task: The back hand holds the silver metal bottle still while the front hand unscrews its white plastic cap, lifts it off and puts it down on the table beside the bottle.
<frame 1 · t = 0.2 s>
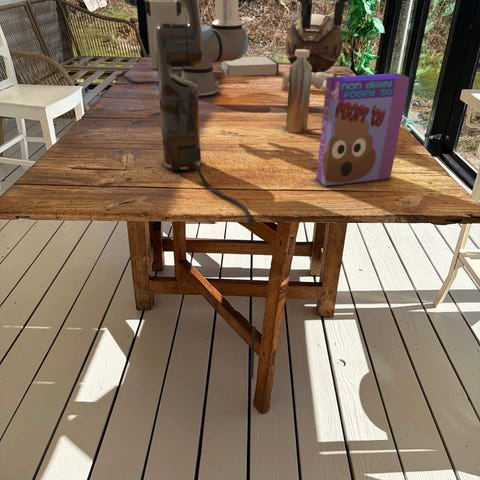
front hand: (163, 15, 145), 30 cm above the table, tool pointing down, fingers open, 8 cm apart
back hand: (321, 27, 144), 28 cm above the table, tool pointing down, fingers open, 13 cm apart
cap: (302, 51, 136), point 23 cm above the table, screwed on, not yet turned
disc drive: (249, 72, 218), on the table
bottle: (296, 129, 148), on the table
sphere: (311, 74, 216), on the table
tall grey upright box: (174, 66, 227), on the table
toy: (320, 91, 190), on the table
cereal box: (353, 179, 116), on the table
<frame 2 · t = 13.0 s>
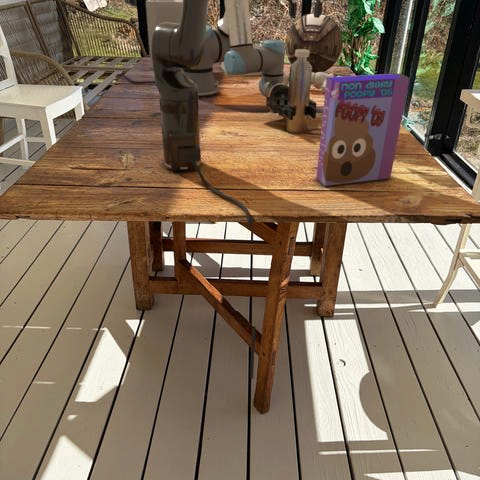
front hand: (304, 17, 131), 32 cm above the table, tool pointing down, fingers open, 6 cm apart
back hand: (303, 114, 140), 6 cm above the table, tool horizontal, fingers closed on bottle, 6 cm apart
bottle: (296, 129, 148), on the table, touching back hand
everything else where it was.
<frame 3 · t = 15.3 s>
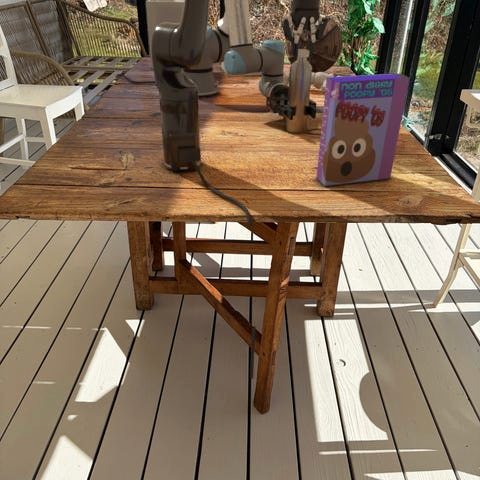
front hand: (301, 56, 137), 22 cm above the table, tool pointing down, fingers closed on cap, 3 cm apart
back hand: (303, 114, 140), 6 cm above the table, tool horizontal, fingers closed on bottle, 6 cm apart
cap: (302, 51, 136), point 23 cm above the table, screwed on, not yet turned, touching front hand
bottle: (296, 129, 148), on the table, touching back hand
everything else where it was.
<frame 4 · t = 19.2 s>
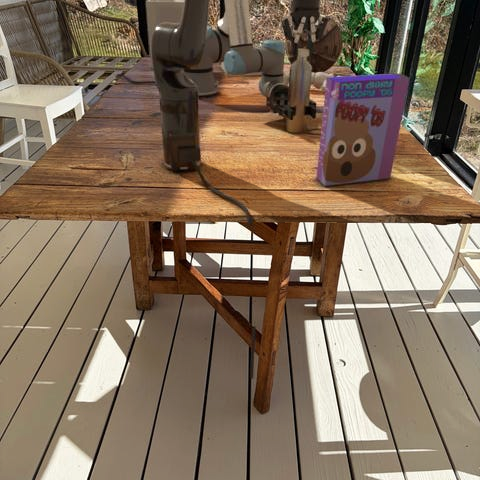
front hand: (302, 55, 137), 22 cm above the table, tool pointing down, fingers closed on cap, 3 cm apart
back hand: (303, 114, 140), 6 cm above the table, tool horizontal, fingers closed on bottle, 6 cm apart
cap: (302, 50, 136), point 23 cm above the table, turned 106° so far, risen 0.1 cm, still on its thread, touching front hand
bottle: (296, 129, 148), on the table, touching back hand
everything else where it was.
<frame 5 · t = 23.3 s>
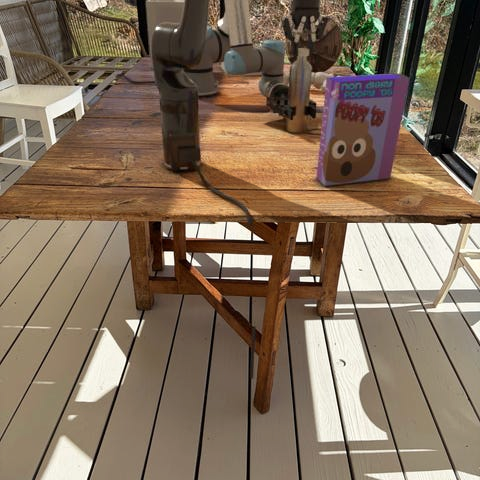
front hand: (302, 55, 137), 22 cm above the table, tool pointing down, fingers closed on cap, 4 cm apart
back hand: (303, 114, 140), 6 cm above the table, tool horizontal, fingers closed on bottle, 6 cm apart
cap: (302, 50, 136), point 23 cm above the table, turned 212° so far, risen 0.2 cm, still on its thread, touching front hand
bottle: (296, 129, 148), on the table, touching back hand
everything else where it was.
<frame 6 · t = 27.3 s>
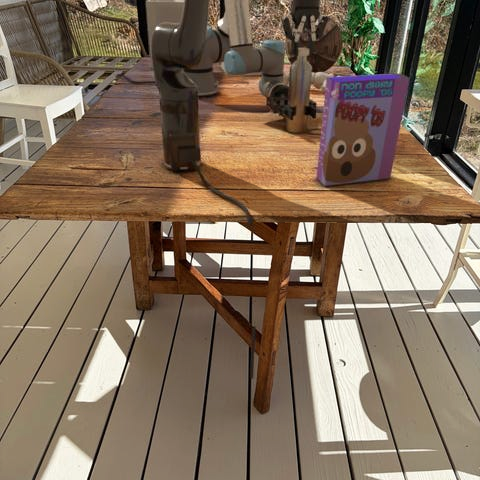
front hand: (302, 54, 136), 22 cm above the table, tool pointing down, fingers closed on cap, 4 cm apart
back hand: (303, 114, 140), 6 cm above the table, tool horizontal, fingers closed on bottle, 6 cm apart
cap: (302, 49, 136), point 23 cm above the table, turned 319° so far, risen 0.4 cm, still on its thread, touching front hand
bottle: (296, 129, 148), on the table, touching back hand
everything else where it was.
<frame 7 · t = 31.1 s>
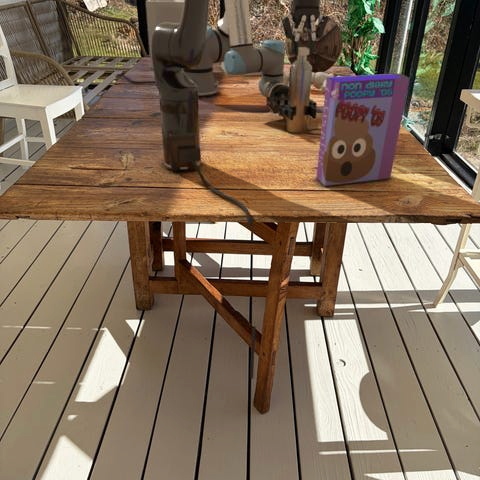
front hand: (302, 54, 136), 22 cm above the table, tool pointing down, fingers closed on cap, 4 cm apart
back hand: (303, 114, 140), 6 cm above the table, tool horizontal, fingers closed on bottle, 6 cm apart
cap: (302, 49, 136), point 23 cm above the table, turned 425° so far, risen 0.5 cm, still on its thread, touching front hand
bottle: (296, 129, 148), on the table, touching back hand
everything else where it was.
when the front hand's fingers open (2 cm above the table, at t = 38.3 s): cap drops 2 cm, point 1 cm above the table.
when the back hand's fingers open (6 cm above the table, at t = 39.4 s): bottle stays where it is, on the table.
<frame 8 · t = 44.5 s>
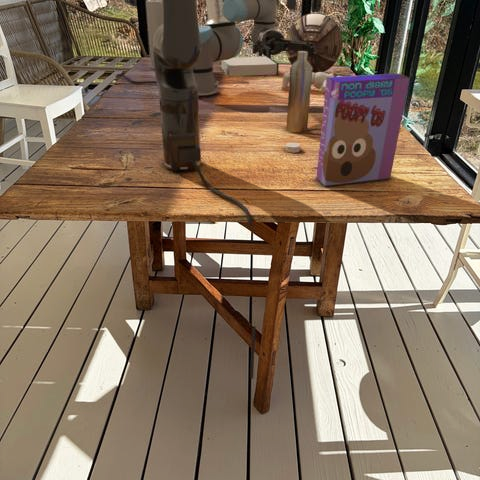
front hand: (303, 10, 114), 35 cm above the table, tool pointing down, fingers open, 8 cm apart
back hand: (291, 52, 145), 21 cm above the table, tool horizontal, fingers open, 13 cm apart
cap: (292, 145, 132), point 1 cm above the table, off its thread
bottle: (296, 129, 148), on the table
everything else where it was.
at the end: cap came off its thread; cap point 1.3 cm above the table; the front hand is holding nothing; the back hand is holding nothing; bottle tilted 0°; bottle moved 0.1 cm from its start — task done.
